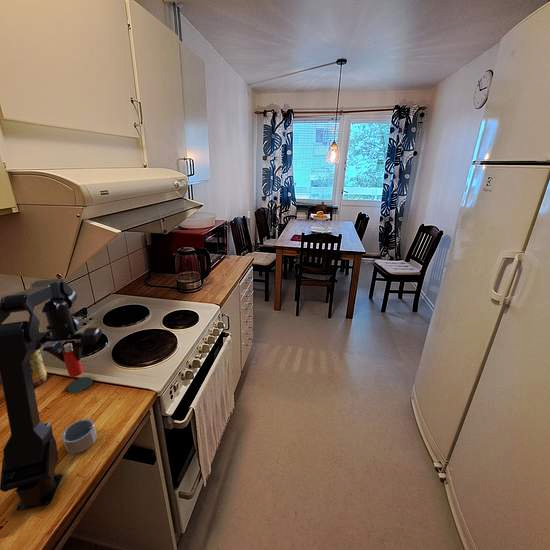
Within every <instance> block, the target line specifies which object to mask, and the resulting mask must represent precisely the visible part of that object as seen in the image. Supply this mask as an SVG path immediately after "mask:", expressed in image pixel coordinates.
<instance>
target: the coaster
mask: <svg viewBox="0 0 550 550" xmlns="http://www.w3.org/2000/svg"><path fill="white" fill-rule="evenodd" d="M92 384H93V379H92V378H91V377H89V376H88V377H87V376H84V377H80V378H77V379H75V380H73V381H71V382H70V383H69V384H68V385H67V388H66V390H67V392H68V393H73V394H74V393H79V392H82V391H86V390H87V389H89V388H90V387H91V386H92Z"/></svg>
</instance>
